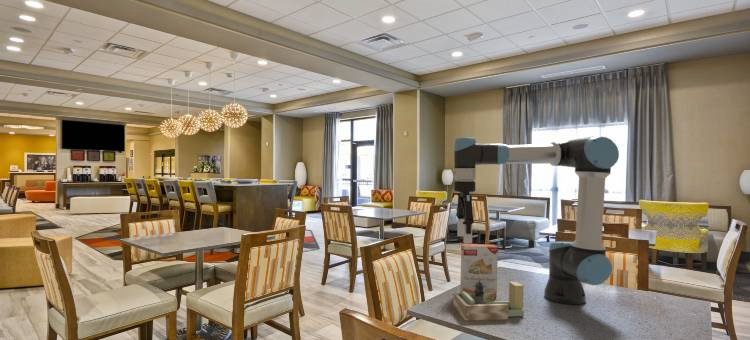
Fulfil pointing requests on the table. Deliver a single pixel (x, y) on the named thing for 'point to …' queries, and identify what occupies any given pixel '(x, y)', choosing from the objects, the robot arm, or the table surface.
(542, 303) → the table surface
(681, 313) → the table surface
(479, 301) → the chess piece
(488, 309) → the frame
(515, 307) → the tray
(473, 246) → the cracker box
